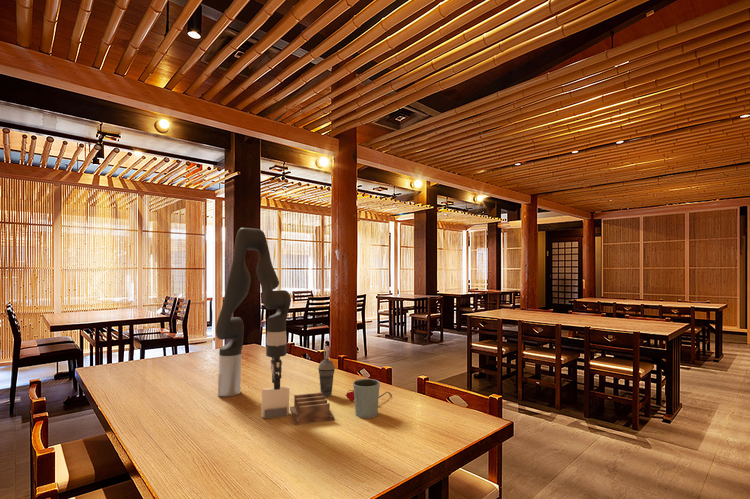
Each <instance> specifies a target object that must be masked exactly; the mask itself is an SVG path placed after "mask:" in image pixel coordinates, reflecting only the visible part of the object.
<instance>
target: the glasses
mask: <svg viewBox="0 0 750 499" xmlns="http://www.w3.org/2000/svg"><path fill="white" fill-rule="evenodd" d="M386 394H388V395H390V396H392V393H390V392H389V391H386V392H384V393H382V394H381V395H379V398H381V397H383V396H384V395H386ZM345 397H346V398H347V399H348V400H349V401H351V402H355V398H354V397H355V396H354V389H349V390H348V391H347V392H346V394H345Z"/></svg>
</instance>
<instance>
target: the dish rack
mask: <svg viewBox="0 0 750 499" xmlns="http://www.w3.org/2000/svg"><path fill="white" fill-rule="evenodd" d="M293 398H294V399H293V400H294V401H293V403H294V404H293V406H289V412H290V414H291V417H292V420H293V421H294V422H293V423H294V425H295V426H296V425H303V424H305V425H306V424H311V423H320V422H326V421H334V420H335V416H334V415H333V413H332V411H331V410H330V402H328V399H327V398H326V397H325V396H323V393H322V392H321V391H320V392H313V393H312V392H311V393H310V392H309V393H301V394H294V396H293Z"/></svg>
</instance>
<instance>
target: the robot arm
mask: <svg viewBox="0 0 750 499" xmlns="http://www.w3.org/2000/svg"><path fill="white" fill-rule="evenodd" d="M268 245H269V244H268V241H267V238H266V234H265V232H264V231H263V230H262V229H259V228H251V227H240V228H239V229H238V230H237V233H236V235H235V242H234V248H233V257H232V263H231V266H230V272H229V276H228V279H227V283H226V289H225V294H224V297H223V302H222V306H221V310H220V313H219V314H218V317H217V318H218V319H217V320H216V325H215V335H216V338H217V339H218V340H221V341H222V340H223V341H224V340H229V341H228V343H226V344H225V345H222V347H220V348H219V350H218V351H219V353H218V358H219V359H218V377H217V378H218V382H217V384H218V385H217V389H218V390H217V397H233V396H237V395H239V394H241V389H242V387H241V383H242V382H241V381H242V350H243V345H244V344H243V343H244V332H245V325H244V321H243V319H242V318H241V317H239V316H235V317H234V316H233V313H234V312H235V310H236V309H238V308H237V307H239V306H240V305H241V303H242V302H243V301H244V300H245V298H246V297H247V296H248V294H249V290H250V286H251V281H252V277H251V274H250V271H249V269H248V267H247V264H246V261H245V260H246V258H245V257H246V253H247V251H256V252H257V253H258V255H259V258H258V259H259V260H258V261H257V265H256V269H255V270H256V271H255V273H256V277H257V278H258V281H259V284H260V286H261V298H262V299H261V300H262V304H263V306H264V307H265V309H267V310H276V312H275V313H274V314H272V315H270V316H268V317H267V320H266V326H267V327H266V328H267V329H266V340H265V341H266V343H265V345H266V346H265V348H266V349H265V356H266V357H268V358H271V360H270V370H271V383H272V384H273V388H274V390H279V389H280V387H281V379H282V378H283V377H282V372H283V371H282V370H283V369H282V366H283V361H282V359H281V357H285V356H286V355H287V318H288V314H289V309H290V308H291V307H290V306H291V301H292V299H291V298H292V297H291V293H289V292H288V291H287V290H285V289H284V290H282V289H281V290H276V289H277V288H278V287H279V285H280V280H279V277H278V275H277V273H276V271H275V268H274V266H273V263H272V258H271V255H270V249H269V246H268ZM232 316H233V317H232Z"/></svg>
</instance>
